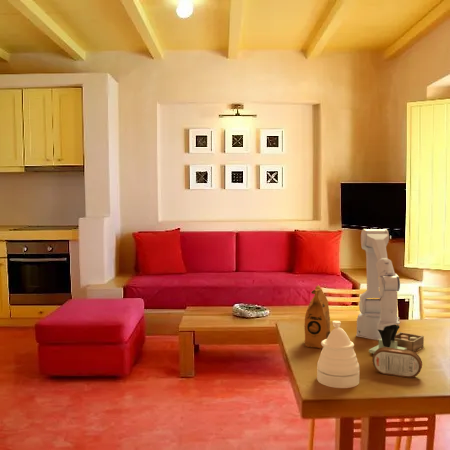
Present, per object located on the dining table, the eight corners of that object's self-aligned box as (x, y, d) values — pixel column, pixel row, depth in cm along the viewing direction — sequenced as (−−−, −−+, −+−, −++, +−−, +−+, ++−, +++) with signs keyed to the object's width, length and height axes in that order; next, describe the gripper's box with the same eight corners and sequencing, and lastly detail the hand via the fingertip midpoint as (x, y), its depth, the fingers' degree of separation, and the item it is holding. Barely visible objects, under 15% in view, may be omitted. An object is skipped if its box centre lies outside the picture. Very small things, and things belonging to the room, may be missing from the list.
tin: (422, 377, 159) (422, 351, 158) (421, 380, 156) (421, 353, 155) (373, 370, 165) (373, 345, 165) (371, 373, 162) (371, 347, 162)
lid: (368, 354, 181) (369, 341, 181) (381, 347, 189) (381, 335, 189) (394, 360, 175) (394, 346, 175) (406, 352, 183) (406, 339, 183)
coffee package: (300, 347, 191) (300, 289, 190) (308, 338, 202) (308, 284, 201) (326, 350, 187) (327, 291, 186) (332, 341, 198) (333, 285, 197)
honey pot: (312, 373, 162) (312, 318, 161) (351, 372, 163) (352, 317, 162) (323, 388, 150) (323, 329, 149) (365, 387, 150) (366, 328, 149)
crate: (389, 348, 189) (389, 337, 189) (400, 342, 196) (400, 332, 196) (413, 352, 183) (413, 342, 183) (423, 346, 190) (423, 336, 190)
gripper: (391, 313, 173) (390, 352, 174) (407, 306, 184) (407, 343, 185) (371, 310, 178) (371, 348, 178) (388, 304, 188) (388, 339, 189)
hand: (388, 345), depth 182 cm, fingers closed on lid, 2 cm apart
